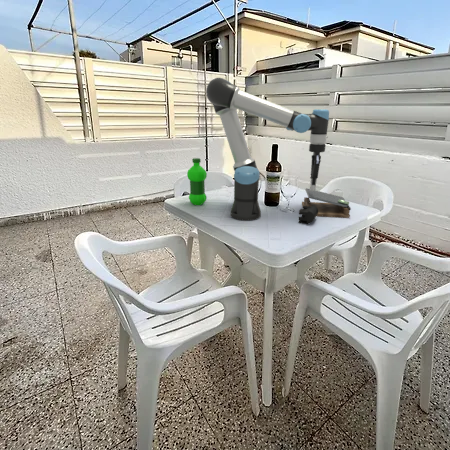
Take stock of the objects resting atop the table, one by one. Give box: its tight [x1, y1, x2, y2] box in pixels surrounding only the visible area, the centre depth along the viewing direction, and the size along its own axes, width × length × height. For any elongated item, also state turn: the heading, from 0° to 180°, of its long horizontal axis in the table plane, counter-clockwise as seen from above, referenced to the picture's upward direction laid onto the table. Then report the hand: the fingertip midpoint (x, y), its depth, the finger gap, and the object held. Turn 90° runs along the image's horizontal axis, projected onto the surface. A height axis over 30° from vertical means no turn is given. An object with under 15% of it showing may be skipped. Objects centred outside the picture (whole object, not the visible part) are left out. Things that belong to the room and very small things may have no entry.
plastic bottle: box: [186, 157, 208, 206], centre depth 160 cm, size 10×10×25 cm
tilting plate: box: [305, 187, 350, 208], centre depth 151 cm, size 20×16×3 cm
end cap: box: [298, 205, 318, 225], centre depth 139 cm, size 10×7×7 cm
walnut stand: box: [301, 196, 352, 219], centre depth 153 cm, size 21×20×5 cm
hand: (312, 190), depth 152 cm, fingers closed
